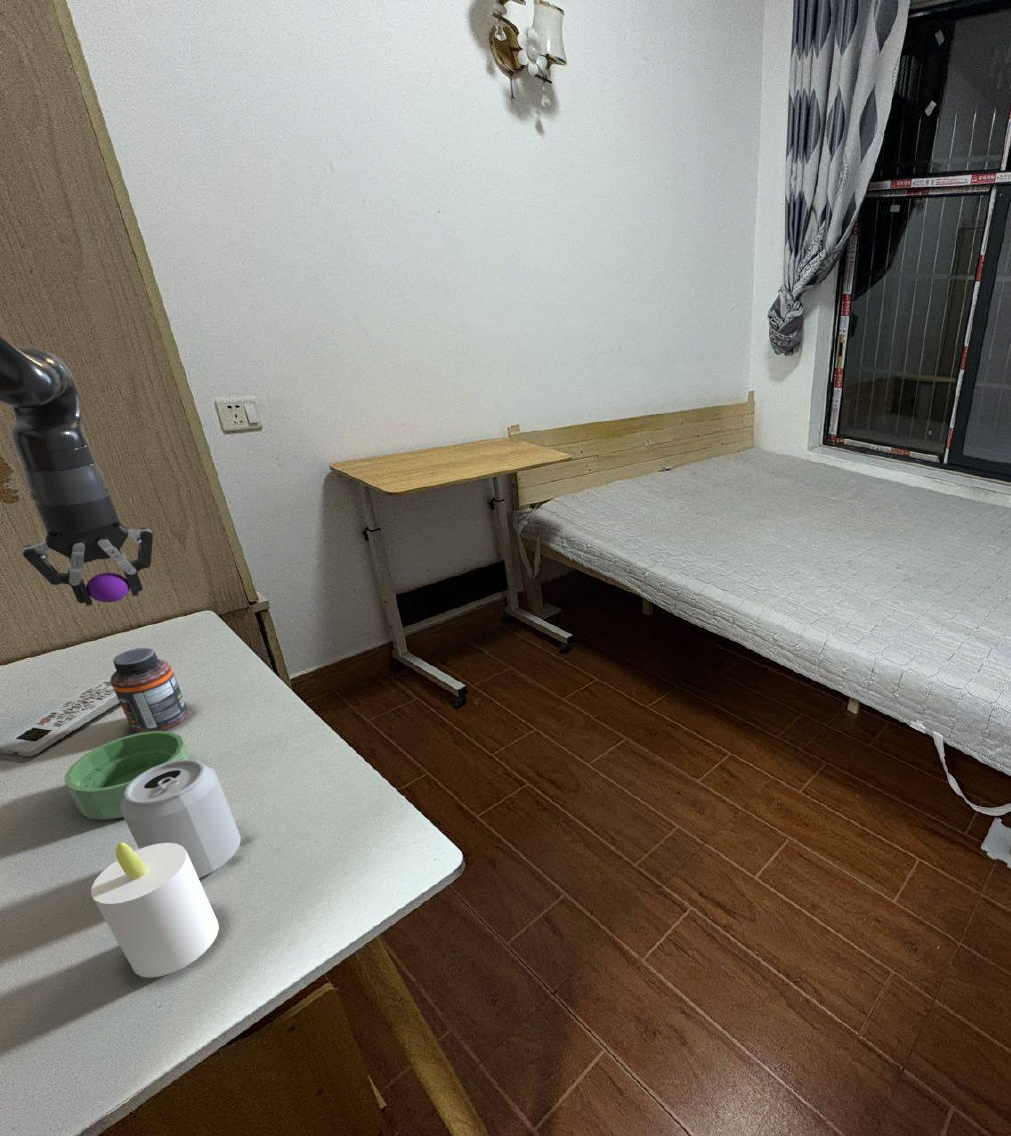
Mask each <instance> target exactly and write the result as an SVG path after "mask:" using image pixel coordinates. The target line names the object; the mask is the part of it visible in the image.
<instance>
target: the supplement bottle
mask: <svg viewBox="0 0 1011 1136" xmlns="http://www.w3.org/2000/svg"><path fill="white" fill-rule="evenodd" d="M112 662H113V665H114V668H115V670H116V671H114V672H113V673H112V674H111V677H110V684H111V686H112V688H113V691H114V693H115V696H116V698H117V700H118V701H119V704H120V706H121V709H122V710H123V714H124V715H125V717H126V719H127V722H128V724H129V726H130V727H131V729H132V731H133V732H134V733H135V734H137V733H142V732H151V731H169V730H171V729H173V728H175V727H177V726H178V725H181V724H182V723H183V722H184V721H185V720H186V718H187V717H188V715H189V710H188V706H187V703H186V701H185V698H184V696H183V693H182V691H181V687H180V685H179V684H178V680H177V678H176V676H175V673H174V671H173V668H172V666H171V664H170V663H169V662H168V661H166V660H164V659H160V658H158V655H156V652H155V650H154V649H153V648H149V647H139V648H138V647H137V648H133V649H130V650H126V651H124V652H121V653H119V654H118V655H117V656H115V657H114V658H113V659H112Z"/></svg>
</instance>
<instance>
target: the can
mask: <svg viewBox="0 0 1011 1136" xmlns="http://www.w3.org/2000/svg"><path fill="white" fill-rule="evenodd" d="M124 797H125V798H124V799H123V801H122V803H121V806H120V809H121V812H122V815H123V817H122V818H123V819H124V822H125V823H126V825H127V828H128V829H129V831H130V833H131V835H132V837H133V839H134V842H135V844H136V845H137V847H138V849H141V848H144V847H146V846H150V845H154V844H159V843H175V844H179V845H181V846H183V847H184V849H185V850H186V851H187V854H188V856H189V858H190V860H191V863H192V865H193V867H194V869H195V872H196V874H197V876H198V878H199V879H202V878H204V877H206V876H207V875H210V874H211V873H213V872H215V871H216V870H217V869H219V868H220V867H222V866H223V865H225V864H226V863H227V862H228V861H229V860H230V859H231V858H232V857H234V855H235V854H236V852H238V851H237V850H238V849H239V848H240V846H241V840H242V837H241V834H240V831H239V829H238V827H237V824H236V821H235V819H234V816H233V813H232V811H231V808H230V806H229V805H230V804H229V803H228V801H227V798H226V794H225V793H224V790H223V787H222V785H221V782H220V780H219V777H218V775H217V773H216V771H215V769H213V768H211V767H210V766H207V765H205V764H204V762H202V761H200V760H198V759H193V758H192V759H191V758H190V759H182V760H175V761H171V762H166V763H163V764H161V765H158V766H155V767H153V768H151V769H149V770H147V771H145V772H143V773H142V774H140V775H139V776H138V777H136V778H135V779H134V780H132V781H131V783H130V784H129V785H128V786H127V787H126V789H125V792H124Z"/></svg>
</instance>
